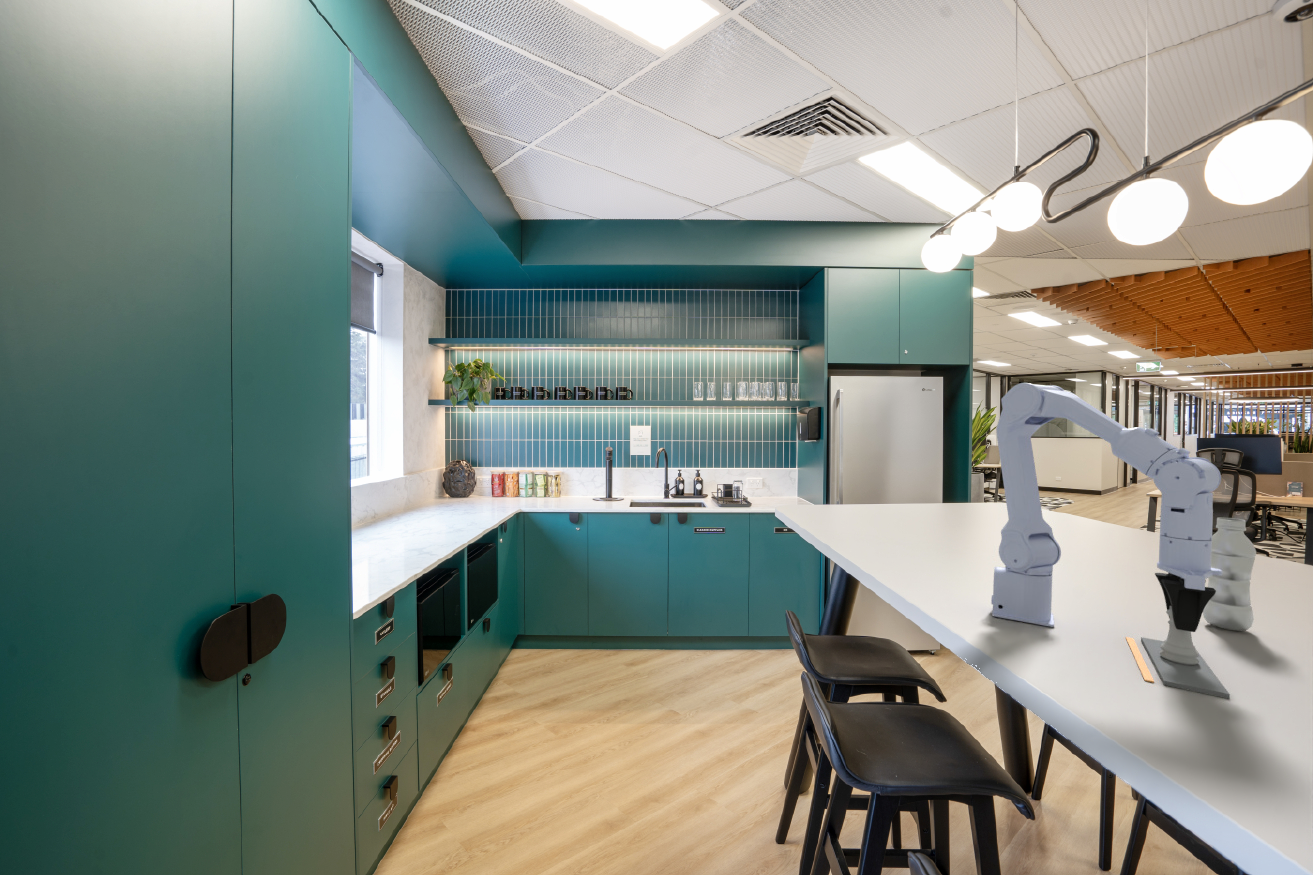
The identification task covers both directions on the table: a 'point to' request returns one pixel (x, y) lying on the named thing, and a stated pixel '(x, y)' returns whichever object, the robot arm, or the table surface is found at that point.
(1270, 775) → the table surface
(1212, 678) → the mat
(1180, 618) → the robot arm
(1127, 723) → the table surface
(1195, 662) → the rook chess piece
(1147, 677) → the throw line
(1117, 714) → the table surface
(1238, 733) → the table surface
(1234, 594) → the plastic bottle
